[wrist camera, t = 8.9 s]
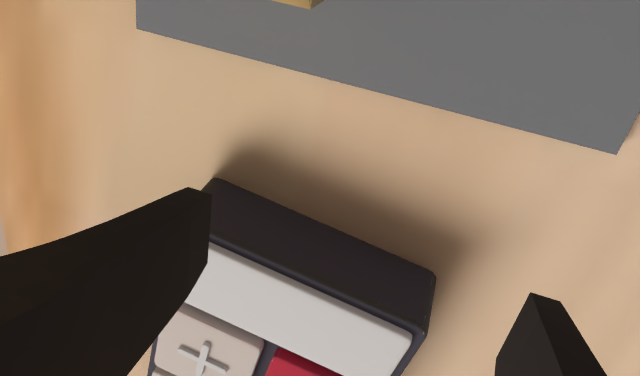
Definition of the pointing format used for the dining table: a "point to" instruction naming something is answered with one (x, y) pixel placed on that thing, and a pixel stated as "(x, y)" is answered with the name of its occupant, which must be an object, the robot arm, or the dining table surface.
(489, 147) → the dining table surface
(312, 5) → the bronze square frame
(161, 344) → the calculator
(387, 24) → the mat
